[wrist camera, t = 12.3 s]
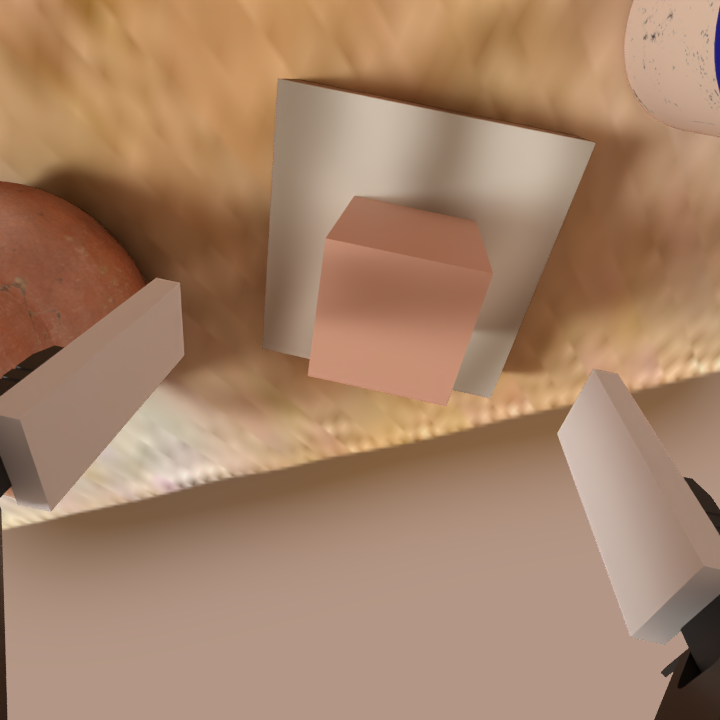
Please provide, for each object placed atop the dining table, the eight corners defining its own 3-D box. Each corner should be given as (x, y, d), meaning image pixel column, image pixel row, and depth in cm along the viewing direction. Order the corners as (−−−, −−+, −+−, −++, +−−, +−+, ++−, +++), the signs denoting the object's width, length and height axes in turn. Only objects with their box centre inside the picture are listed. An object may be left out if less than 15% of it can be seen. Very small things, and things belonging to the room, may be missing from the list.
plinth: (276, 326, 30) (262, 348, 27) (295, 79, 22) (277, 78, 20) (485, 371, 29) (490, 398, 27) (576, 135, 22) (595, 142, 19)
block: (336, 306, 25) (307, 375, 19) (354, 195, 22) (325, 238, 16) (442, 329, 25) (446, 406, 19) (476, 221, 22) (492, 273, 16)
